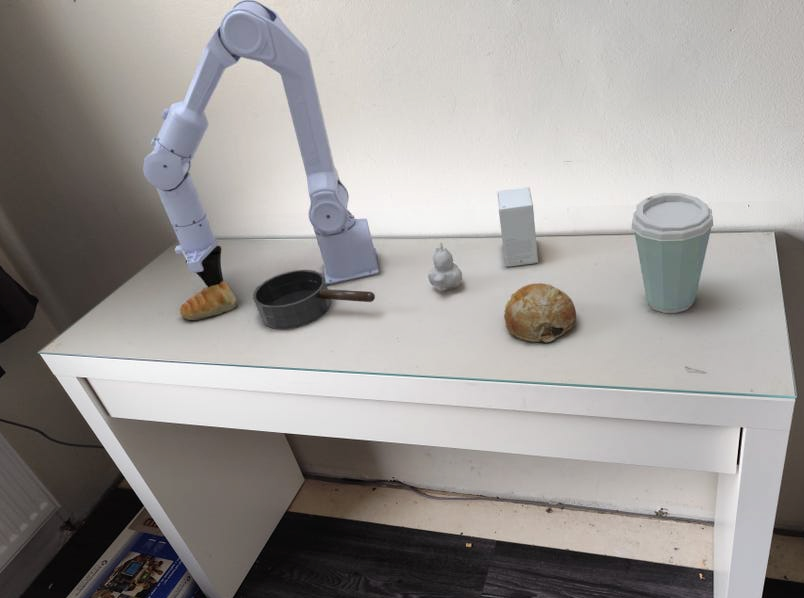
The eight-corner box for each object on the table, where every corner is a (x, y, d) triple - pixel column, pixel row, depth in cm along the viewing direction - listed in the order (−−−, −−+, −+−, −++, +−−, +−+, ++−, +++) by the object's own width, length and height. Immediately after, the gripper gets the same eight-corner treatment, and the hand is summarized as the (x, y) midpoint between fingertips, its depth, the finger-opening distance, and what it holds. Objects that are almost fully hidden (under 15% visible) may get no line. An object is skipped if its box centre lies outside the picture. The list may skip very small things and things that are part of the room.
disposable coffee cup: (724, 303, 95) (734, 204, 86) (667, 332, 91) (672, 232, 83) (669, 276, 103) (673, 183, 94) (615, 302, 99) (614, 208, 90)
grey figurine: (468, 278, 111) (461, 235, 107) (456, 299, 106) (449, 255, 102) (437, 278, 113) (429, 235, 108) (425, 298, 108) (416, 254, 103)
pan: (330, 285, 116) (324, 264, 114) (332, 319, 107) (325, 297, 104) (263, 299, 116) (255, 278, 113) (258, 336, 106) (250, 313, 104)
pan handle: (317, 300, 107) (315, 292, 106) (322, 295, 108) (320, 286, 107) (373, 304, 104) (371, 295, 103) (377, 298, 105) (375, 290, 104)
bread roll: (523, 367, 96) (532, 336, 89) (488, 314, 100) (494, 280, 93) (580, 341, 98) (593, 310, 92) (544, 291, 103) (553, 257, 96)
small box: (538, 264, 112) (533, 205, 106) (505, 268, 112) (498, 209, 106) (535, 242, 118) (530, 185, 112) (503, 246, 119) (497, 190, 113)
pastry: (188, 328, 111) (179, 308, 109) (179, 313, 116) (170, 294, 114) (242, 306, 115) (234, 287, 112) (230, 292, 120) (223, 274, 117)
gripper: (172, 207, 117) (201, 276, 124) (156, 242, 105) (189, 315, 113) (212, 199, 117) (238, 268, 125) (201, 233, 105) (231, 306, 113)
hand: (218, 290), depth 119 cm, fingers closed
